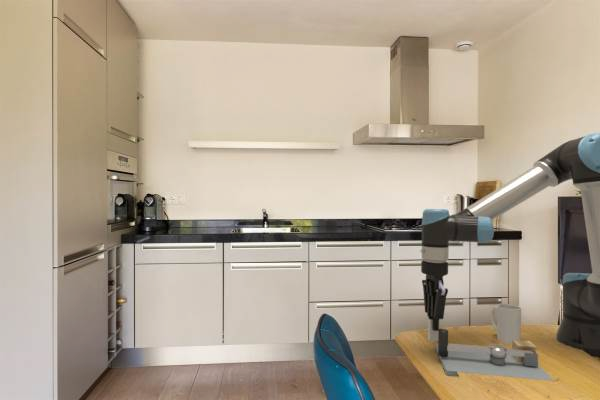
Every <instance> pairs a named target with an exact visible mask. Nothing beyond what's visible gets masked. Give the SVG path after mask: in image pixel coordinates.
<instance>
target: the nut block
mask: <svg viewBox="0 0 600 400" xmlns="http://www.w3.org/2000/svg"><path fill="white" fill-rule="evenodd" d="M511 349H520V350H531V351H535V352H536V353H537V346H536V345H534V344H533V343H532V342H531V341H530V340H522V339H520V340H512V344H511ZM513 357H514V358H515V359H516V360H517V361H518V362H522V357H521V356H513ZM522 363H523V362H522Z"/></svg>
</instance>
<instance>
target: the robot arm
mask: <svg viewBox="0 0 600 400" xmlns="http://www.w3.org/2000/svg"><path fill="white" fill-rule="evenodd" d="M570 180H572V185H573V186H574V187H575V188H577V189H579V191H580V194H581V202H582V210H583V217H584V223H585V229H586V237H587V244H588V250H589V257H590V265H591V272H592V273H583V272H566V273H564V274H563V277H562V283H561V285H562V320H561V322H560V324H559V327H558V328H557V331H556V335H555V339H556V340H557V342H559V343H561V344H563V345H565V346H567V347H571V348H574V349H577V350H581V351H583V352H585V353H586V354H588V356H589V355H590V356H595V357H596V356H599V357H600V132H595V133H591V134H587V135H585V136H584V135H583V136H581V137H578V138H575V139H571V140H568V141H566V142H564V143H562V144H561V145H559V146H558V147H556V148H554V149H552V150H551V151H550V152H548V153H547V154H546V155H544V156H543V157H541V158H540V159H538V160H536V161H535V162H534V163H533V166H532V167H531V168H529V169H528V170H526V171H525V172H523V173H521V174H519V175H518V176H516V177H515V178H513V179H511V180H510V181H507V183H504V184H503V185H502V186H499V187H498V188H497V189H495V190H493V191H492V192H490V193H488V194H487V195H485V196H483V197H482V198H480V199H478V200H476V201H475V202H474V203H472V204H470V205H468V206H467V207H465V208H464V209H462V210H461V211H459V212H457V213H456V214H451V215H450V211H449V209H447V208H446V209H445V208H441V209H440V208H439V209H438V208H426V209H424V210H423V212H422V220H421V249H420V251H419V252H420V253H421V259H422V261H421V265H420V269H421V270H420V272H421V274H424V275H425V279H422V280H421V283H422V290H423V300H424V301H423V303H424V313H426V315H427V317H428V318H427V340H428V341H429V342H438V329H440V320H444V316H445V308H446V300H447V295H448V293H449V289H448V288H445V287H444V284H445V283H444V277H445V276H447V275H448V274H449V263H448V262H447V261H449V247H450V246H449V242H461V243H463V242H466V243H467V242H468V243H478V244H479V243H489V242H491V241H492V240H493V238H494V234H495V226H494V221H493V220H494V219H497V218H498V217H500V216H502V215H503V214H504V213H507V212H508V211H510V210H512V209H513V208H515V207H516V206H518V205H520V204H522V203H523V202H525V201H527V200H528V199H530V198H532V197H533V196H536V194H537V195H538V193H540V192H542V191H544V190H545V189H547V188H548V187H551V188H553V187H554V188H555V187H557V186H559V185H560V184H562V183H564V182H567V181H570Z"/></svg>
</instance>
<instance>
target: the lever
mask: <svg viewBox="0 0 600 400" xmlns="http://www.w3.org/2000/svg"><path fill="white" fill-rule="evenodd" d="M437 344H438V353H437V356H438V355H439V356H441V357H448V351H458V352H470V353H481V354H489V355H491V356H493V357H496V358H506V357H507V355H509V356H521V357H522V362H523V364H524V365H525V366H535V367H538V365H539V354H538V353H537V351H536V352H535V351H531V350H520V349H512V348H507V347H505V346H504V345H500V344H495V343H494V344H488V346H487V345H486V346H485V345H484V346H483V345H475V344H474V345H472V344H463V343H462V344H459V343H449V329H446V328H439V329H438V341H437ZM439 356H438V357H439Z"/></svg>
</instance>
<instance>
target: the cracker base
mask: <svg viewBox="0 0 600 400" xmlns="http://www.w3.org/2000/svg"><path fill="white" fill-rule="evenodd" d="M434 347H435V348H434V349H435V351H436V353H437V356H438V358H439V360H440V362H441V363H440V364H441V365H442V367H443V370H444V372H445V375H446V376H449V377H450V376H452V377H460V375H459V373H470V374H479V375H486V376H487V375H489V376H498V377H499V376H500V377H507V378H508V377H509V378H518V379H527V380H528V379H530V380H541V381H550V382H551V381H552V382H555V380H554V379H553V378H552V377H551V376H550V375H549V373H547V372H546V371H545V370H544V369H543V368H542V367H541V366H540V365H539V364H538V367H535V366H525V365H524V364H523V363H522V362H518V361H517V360H516V359H515V358H514V357H513V356H509V355H507V357H506V358H496V357H493V356H491V355H489V354H481V353H470V352H458V351H448V357H441V356H439V355H438V343H435V345H434Z"/></svg>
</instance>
